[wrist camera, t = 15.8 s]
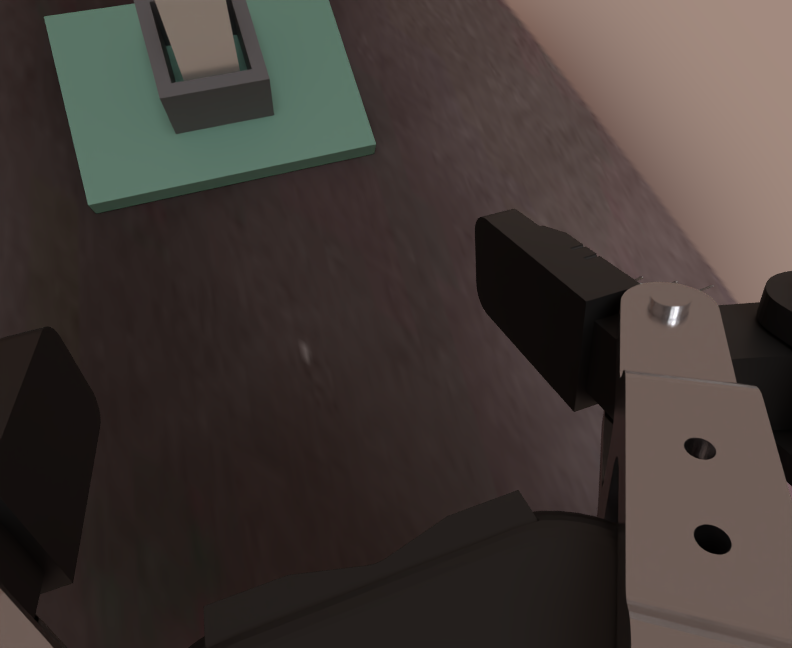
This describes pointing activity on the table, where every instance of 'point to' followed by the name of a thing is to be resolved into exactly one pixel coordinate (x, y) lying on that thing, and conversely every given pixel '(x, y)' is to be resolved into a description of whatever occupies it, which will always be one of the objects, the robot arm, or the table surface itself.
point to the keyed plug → (199, 36)
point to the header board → (204, 100)
